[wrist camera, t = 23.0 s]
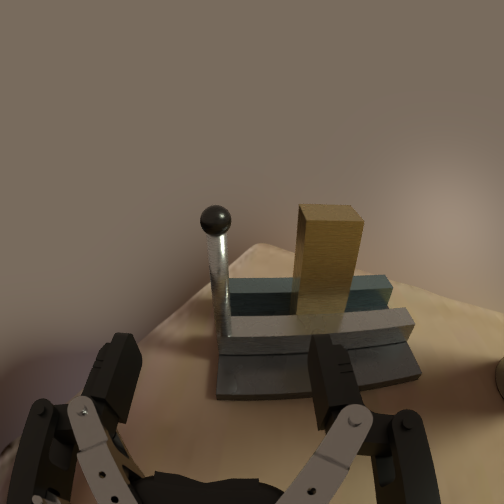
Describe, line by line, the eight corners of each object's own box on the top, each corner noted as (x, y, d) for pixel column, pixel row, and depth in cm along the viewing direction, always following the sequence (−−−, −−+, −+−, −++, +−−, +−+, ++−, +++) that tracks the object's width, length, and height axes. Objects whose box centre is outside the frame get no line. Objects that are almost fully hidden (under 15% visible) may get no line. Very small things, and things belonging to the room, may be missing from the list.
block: (338, 331, 31) (364, 221, 24) (293, 334, 31) (306, 220, 24) (331, 309, 35) (350, 205, 28) (289, 311, 35) (298, 204, 28)
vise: (417, 379, 25) (433, 355, 23) (217, 400, 25) (212, 377, 23) (375, 294, 39) (382, 270, 37) (225, 298, 39) (223, 273, 37)
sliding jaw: (408, 343, 28) (457, 218, 20) (213, 357, 28) (196, 212, 20) (398, 324, 31) (437, 204, 23) (216, 334, 31) (203, 196, 23)
